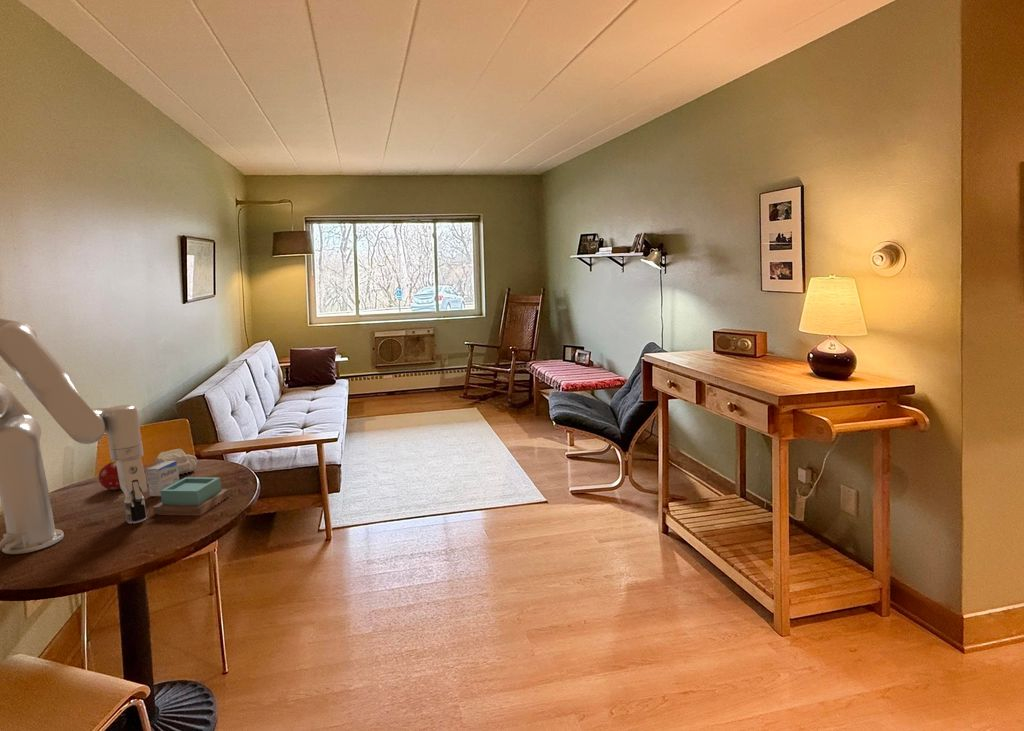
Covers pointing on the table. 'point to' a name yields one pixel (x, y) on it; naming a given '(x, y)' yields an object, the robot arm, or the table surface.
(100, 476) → the christmas ornament
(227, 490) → the walnut slab
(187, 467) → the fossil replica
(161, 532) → the table surface
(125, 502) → the pill bottle
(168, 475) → the medicine box
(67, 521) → the table surface
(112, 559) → the table surface
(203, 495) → the teal tray
